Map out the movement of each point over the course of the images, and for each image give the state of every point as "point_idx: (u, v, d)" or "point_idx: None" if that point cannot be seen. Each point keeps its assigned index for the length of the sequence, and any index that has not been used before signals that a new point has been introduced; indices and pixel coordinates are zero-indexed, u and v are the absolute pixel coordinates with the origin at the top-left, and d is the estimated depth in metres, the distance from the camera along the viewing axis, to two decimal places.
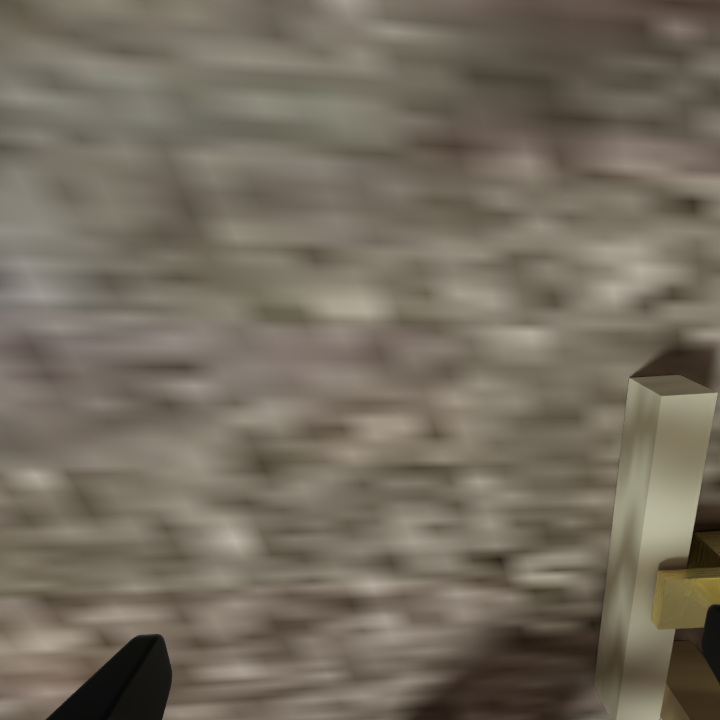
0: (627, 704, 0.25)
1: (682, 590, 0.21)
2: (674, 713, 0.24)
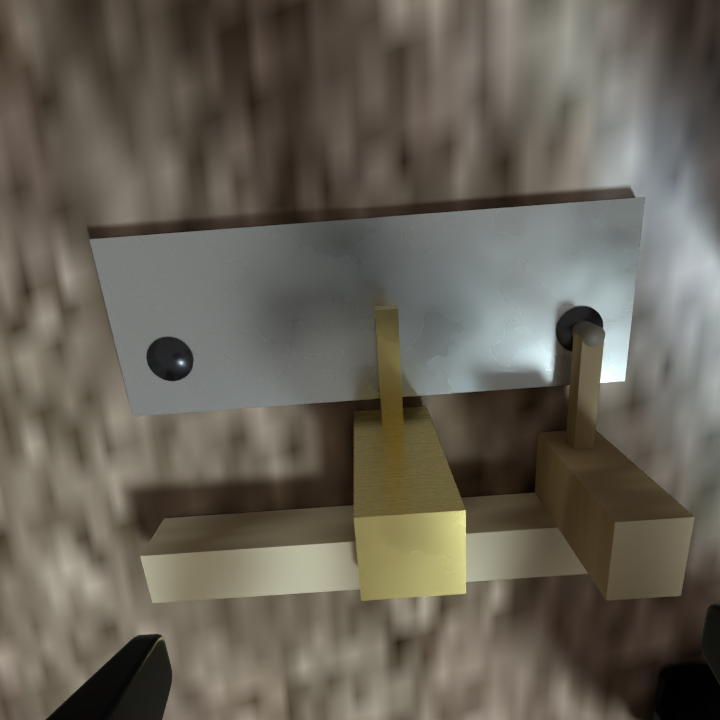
0: None
1: None
2: None
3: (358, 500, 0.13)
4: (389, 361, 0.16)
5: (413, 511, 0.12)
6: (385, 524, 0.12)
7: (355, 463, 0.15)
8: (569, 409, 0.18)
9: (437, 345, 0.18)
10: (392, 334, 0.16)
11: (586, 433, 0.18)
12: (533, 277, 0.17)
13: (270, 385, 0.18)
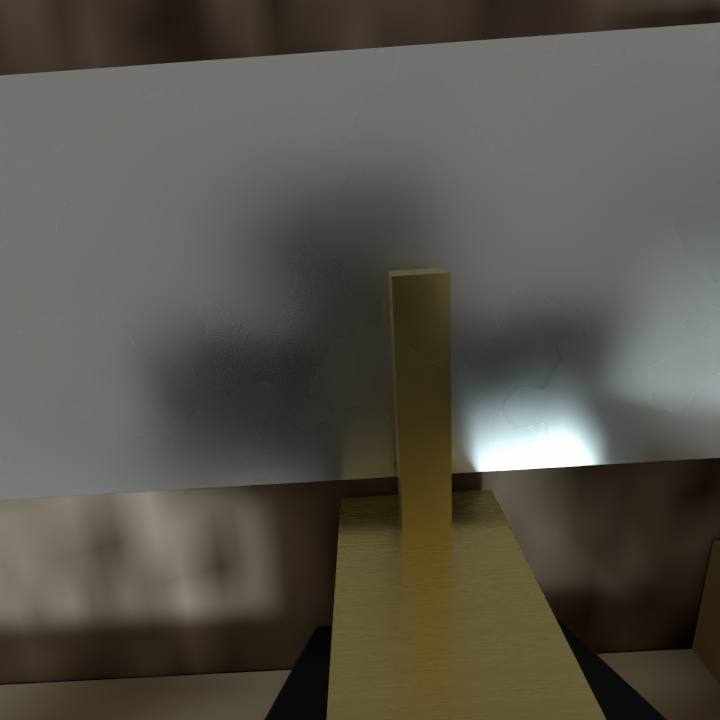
0: None
1: None
2: None
3: None
4: (424, 405, 0.07)
5: None
6: None
7: None
8: None
9: (527, 365, 0.08)
10: (434, 339, 0.06)
11: None
12: None
13: (158, 447, 0.08)
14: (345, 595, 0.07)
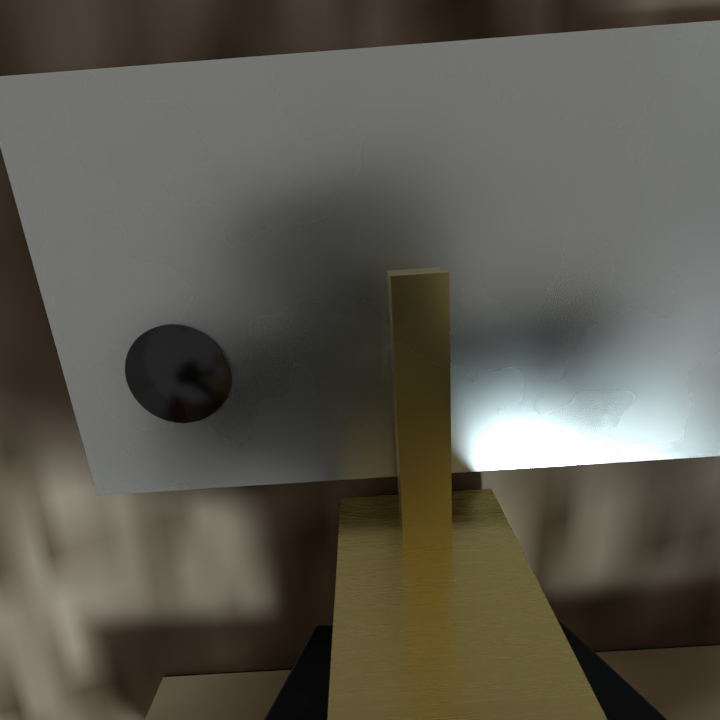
0: None
1: None
2: None
3: None
4: (423, 405, 0.07)
5: None
6: None
7: None
8: None
9: None
10: (433, 339, 0.06)
11: None
12: None
13: None
14: (345, 595, 0.07)
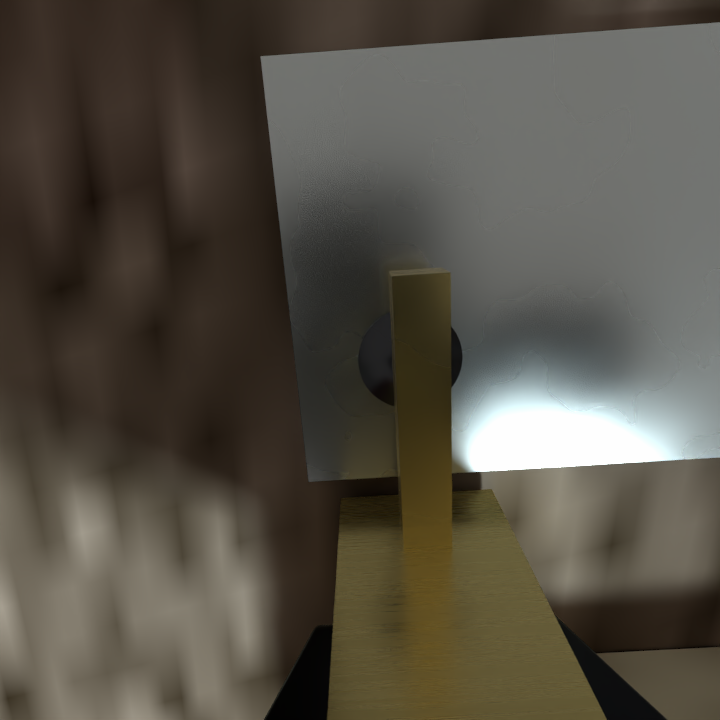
0: None
1: None
2: None
3: None
4: (424, 405, 0.07)
5: None
6: None
7: None
8: None
9: None
10: (434, 339, 0.06)
11: None
12: None
13: (618, 419, 0.08)
14: (345, 595, 0.07)
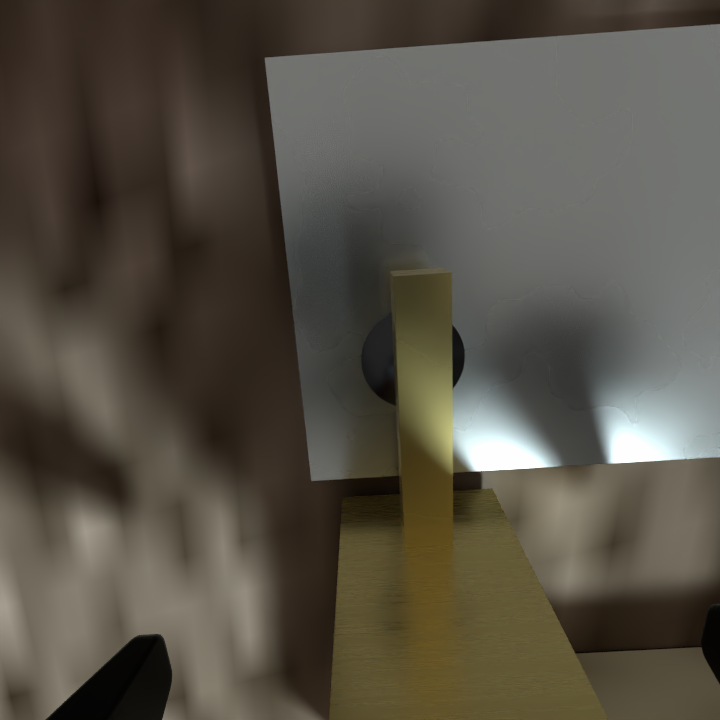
0: None
1: None
2: None
3: None
4: (425, 405, 0.07)
5: None
6: None
7: (334, 719, 0.05)
8: None
9: None
10: (435, 339, 0.06)
11: None
12: None
13: (620, 419, 0.08)
14: (347, 593, 0.07)
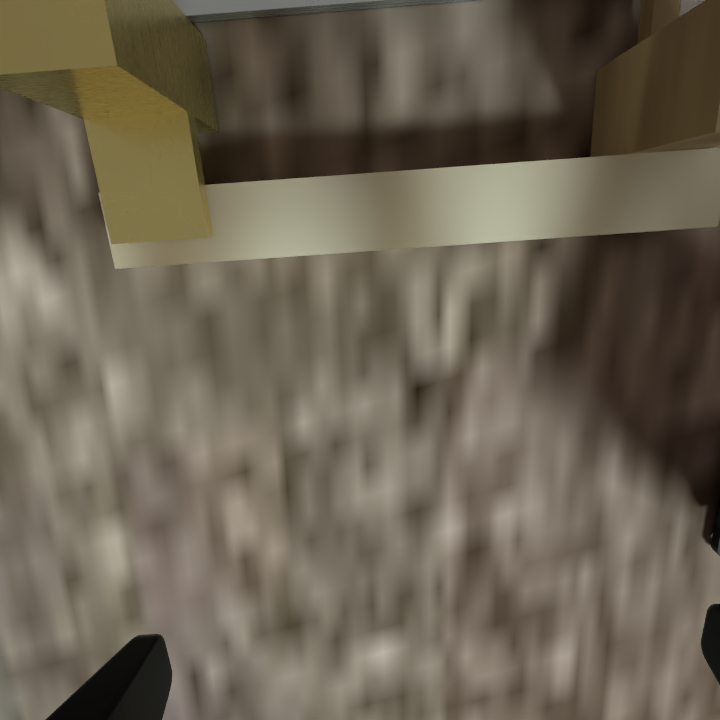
0: (666, 214, 0.15)
1: (126, 213, 0.14)
2: (678, 147, 0.13)
3: None
4: None
5: None
6: None
7: None
8: (642, 5, 0.14)
9: None
10: None
11: (666, 24, 0.14)
12: None
13: None
14: None
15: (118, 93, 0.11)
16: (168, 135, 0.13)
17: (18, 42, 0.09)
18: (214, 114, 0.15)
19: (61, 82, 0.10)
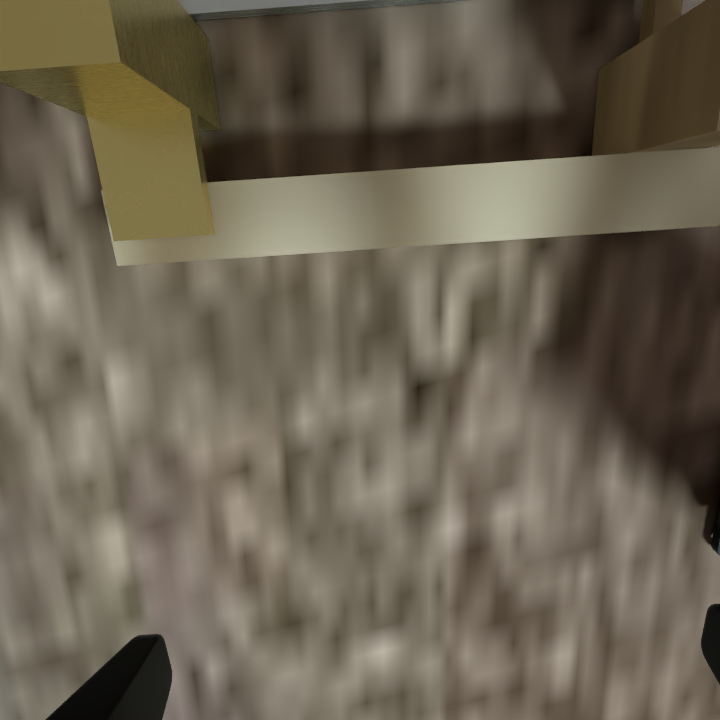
0: (668, 213, 0.15)
1: (128, 210, 0.14)
2: (680, 146, 0.13)
3: None
4: None
5: None
6: None
7: None
8: (644, 4, 0.14)
9: None
10: None
11: (668, 24, 0.14)
12: None
13: None
14: None
15: (121, 90, 0.11)
16: (171, 133, 0.13)
17: (22, 39, 0.09)
18: (217, 112, 0.15)
19: (65, 79, 0.10)
